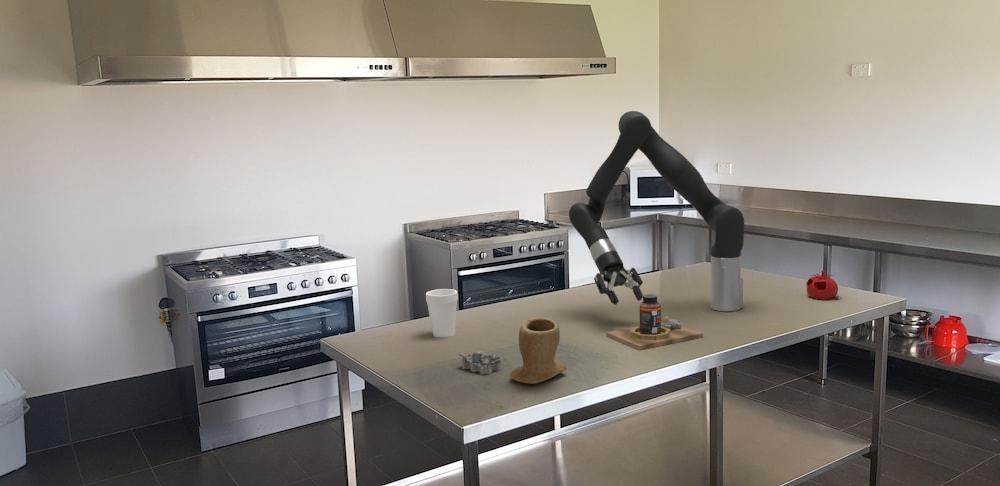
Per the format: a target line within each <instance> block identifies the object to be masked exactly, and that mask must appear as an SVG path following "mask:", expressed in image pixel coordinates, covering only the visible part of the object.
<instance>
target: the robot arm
mask: <svg viewBox="0 0 1000 486" xmlns="http://www.w3.org/2000/svg"><path fill="white" fill-rule="evenodd" d="M618 132H619V136H618V138H617V142H616V143H615V146H614V147H613V149H612V150H611V152H610V154H609V155H608V156H607V158H606V159H605V160H604V161H603V163H602V164H601V165H600V166H599V168H598V170H597V171H596V172H595V174H594V176H593V177H592V179H591V181H590V183H589V185H587V188H586V191H585V194H586V195H587V197H588V198H589V200H588V204H586V203H582V202H577V203H574V204H572V205H571V206H570V208H569V211H568V217H569V221H570V223H571V225H572V226H573V228H574V229H575V230H576V231H577V233H578V234H579V235H580V236H581V237H582V239H583V240H584V241H585V244H586V246H587V248H588V250H589V252H590V255H591V258H592V260H593V262H594V264H595V266H596V268H597V270H598V272H597V273H596V274H595V276H594V277H593V280H594V282H595V285H596V286H597V287H596V288H597V290H598V292H599V294H601V295H603V294H606V295H607V297H608V299H609V301H610V303H612V304H613V306H616V305H618V303H619V298H618V297H617V294H616V292H615V290H613V289H614V288H615V287H622V286H624V287H625V288H629V289H630V290H632V293H633V294H634V297H635V299H636V301H639V302H640V301H641V300H643V295H644V294H643V292H642V289H641V288H640V287H641V286H642V285H643V280H642V278H641V277H640V275H639V273H638V271H637V270H636V268H635V267H631V269H628V270H627V269H626V268H625V265H624V263H623V260H622V259H621V256H620V255H619V253H618V251H617V249H616V247H615V245H614V244H613V242H612V241H611V240H610V237H609V236H608V233H607V231H606V230H605V228H604V227H602V226H601V225H599V223H600V221H601V219H602V217H603V215H604V210H605V206H606V204H607V200H608V198H609V196H610V195H611V193H612V192H613V189H614V188H615V186H616V184H617V182H618V180H619V178H620V177H621V175H622V173H623V172H624V170H625V168H626V167H627V166H628V164H629V162H630V161H631V160H632V158H633V157H634V155H635V154H636V152H637V151H638V150H639V151H640V152H641V153H643V155H644V156H645V157H646V158H647V160H648V161H649V162H650V164H651V165H652V167H654V169H655V170H656V171H657V172H658V174H659V175H660V176H661V177H662V178H663V180H665V181H666V183H667V184H669V186H670V187H671V188H672V189H673V190H674V191H675V192H677V194H678V195H680V196H681V197H682V198H683V199H684V200H685V201H686V202H687V203H689V204H690V205H691V206H692V207H693V208H694V209H695V210H696V211H697V213H698V214H699V215H700V216H701V218H702V219H703V220H704V222H705V223H706V224H707V226H709V228H710V229H711V230H712V231H714V232H715V238H714V240H715V241H714V244H713V245H711V248H710V309H711V310H714V311H718V312H735V311H739V310H741V309H742V308H744V279H743V278H742V274H741V272H742V269H741V268H742V266H741V265H742V262H741V261H742V249H743V247H744V243H745V242H744V240H745V239H744V237H745V218H744V217H745V216H744V215H743V212H742V211H741V210H740V209H739V208H737V207H734V206H732V205H728V204H726V203H724V202H723V201H722V200H720V199H719V198H718V196H716V195H715V194H714V193H713V192H712V191H711V190H710V188H709V187H708V186H707V184H706V182H705V180H704V178H703V177H702V175H701V173H700V171H699V170H698V169H697V168H696V167H695V166H694V165H693V164H692V163H691V161H689V160H688V158H687V157H685V156H684V155H683V154H682V153H681V152H680V151H678V150H677V149H676V148H674V147H673V146H672V145H671V144H669V143H668V142H667V141H666V140H665V139H664V138H663V137H661V136H660V134H659V133H658V132H657V131H656V130H655V128H654V127H653V125H652V123H651V120H650V118H648V117H647V115H645V114H644V113H642V112H641V111H636V110H630V111H627V112H624V113H623V114H622V115H621V116H620V118H619V121H618ZM604 281H605V282H606V283H605V282H604Z"/></svg>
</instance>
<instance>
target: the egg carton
mask: <svg viewBox="0 0 1000 486" xmlns="http://www.w3.org/2000/svg"><path fill="white" fill-rule="evenodd" d="M458 356H460V357H462V358H461V369H462V370H470V372H474V373H475V372H479V373H480V375H490V374H492V373H493V372H494V371H496V372H497V371H501V370H502V361H501V360H502V358H504V355H502V356H500V355H499V356H498V355H495V353H492V354H491V353H487V352H486V351H484V350H480V351H479V350H478V351H477V352H472V354H468V355H467V356H466V355H465V354H462V353H459V354H458Z"/></svg>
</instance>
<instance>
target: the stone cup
mask: <svg viewBox="0 0 1000 486" xmlns="http://www.w3.org/2000/svg"><path fill="white" fill-rule="evenodd" d="M560 336H561V335H560V327H559V324H558V322H556V321H555V320H554V319H552V318H547V317H533V318H532V317H531V318H529V319H527V320H526V321H524V322H523V323H522V324H521V326H520V327H519V331H518V346H519V352H520V355H521V357H522V363H523V364H522V365H521V366H518V367H516V368H514V369H513V370H511V371H510V372H509V378H511V379H512V380H514V381H516V382H519V383H524V384H530V385H531V384H533V385H534V384H539V383H542V382H545V381H547V380H549V379H551V378H553V377H556V376H558V375H559V374H562V373H563V372H565V371H566V370H567V369H568V368H567V366H566V365H565V364H564V363H563V362H562V361H561V360H559V358H558V357H557V356H556V353H557V349H558V346H559V343H560V338H561V337H560Z"/></svg>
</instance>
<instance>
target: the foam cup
mask: <svg viewBox="0 0 1000 486" xmlns="http://www.w3.org/2000/svg"><path fill="white" fill-rule="evenodd" d="M458 300H459V294H458V290H456V289H451V288H437V289H433V290H429V291H426V293H425V302H426V303H427V310H428V315H429V320H430V325H431V329H432V334H433V337H435V338H450V337H452V336H454V335H455V333H456V319H457V318H456V317H457V308H458V307H457V306H458V305H457V304H458Z"/></svg>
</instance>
